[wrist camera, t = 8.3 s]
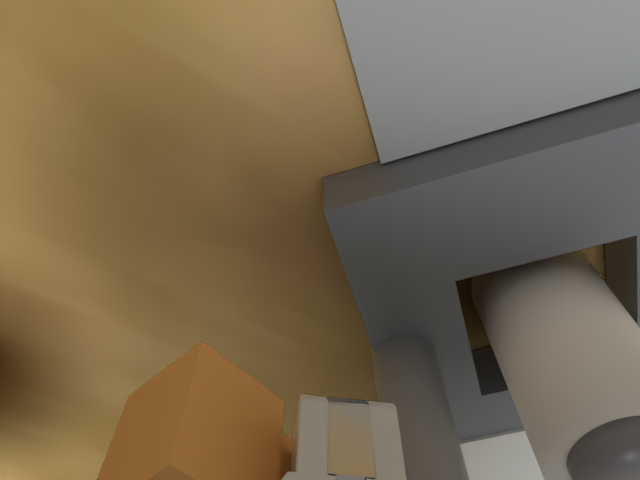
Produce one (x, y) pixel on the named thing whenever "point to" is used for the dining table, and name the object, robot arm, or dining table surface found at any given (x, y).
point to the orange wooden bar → (200, 426)
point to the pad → (483, 63)
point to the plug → (567, 365)
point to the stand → (479, 266)
